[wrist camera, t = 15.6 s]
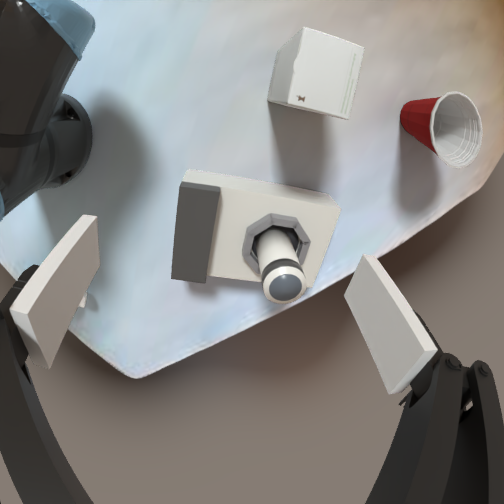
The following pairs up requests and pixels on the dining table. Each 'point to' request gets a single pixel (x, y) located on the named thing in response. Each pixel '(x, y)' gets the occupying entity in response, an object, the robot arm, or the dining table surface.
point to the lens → (279, 267)
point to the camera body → (245, 225)
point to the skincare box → (316, 73)
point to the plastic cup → (446, 127)
